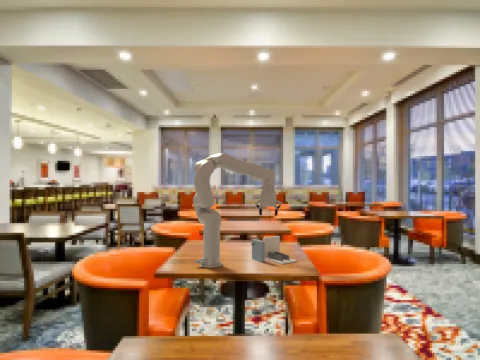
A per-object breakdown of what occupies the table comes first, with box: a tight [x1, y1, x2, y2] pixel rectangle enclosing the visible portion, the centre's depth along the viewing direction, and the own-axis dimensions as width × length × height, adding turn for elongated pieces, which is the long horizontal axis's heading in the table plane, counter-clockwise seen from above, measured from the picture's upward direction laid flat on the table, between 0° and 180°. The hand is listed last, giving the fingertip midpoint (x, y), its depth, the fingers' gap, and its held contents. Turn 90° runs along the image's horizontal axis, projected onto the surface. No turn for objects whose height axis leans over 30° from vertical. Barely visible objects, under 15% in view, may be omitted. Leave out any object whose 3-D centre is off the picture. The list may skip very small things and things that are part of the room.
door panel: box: [250, 238, 266, 263], centre depth 190 cm, size 4×10×12 cm, turn 32°
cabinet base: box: [262, 235, 298, 265], centre depth 191 cm, size 12×18×13 cm, turn 32°
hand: (268, 215), depth 198 cm, fingers open, 9 cm apart
